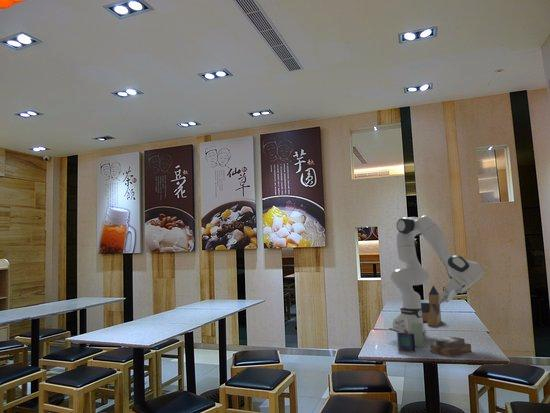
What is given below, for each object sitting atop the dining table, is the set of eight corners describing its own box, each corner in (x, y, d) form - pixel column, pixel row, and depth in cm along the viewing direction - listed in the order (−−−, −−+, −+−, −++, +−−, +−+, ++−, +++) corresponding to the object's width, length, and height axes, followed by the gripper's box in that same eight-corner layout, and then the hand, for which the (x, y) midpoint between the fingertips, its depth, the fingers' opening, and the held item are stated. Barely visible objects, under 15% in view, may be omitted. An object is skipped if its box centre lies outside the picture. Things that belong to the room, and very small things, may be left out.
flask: (397, 349, 212) (395, 328, 213) (399, 348, 214) (398, 327, 215) (414, 352, 206) (412, 330, 207) (416, 351, 208) (415, 329, 209)
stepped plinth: (430, 352, 205) (430, 339, 206) (449, 346, 214) (448, 334, 215) (452, 356, 195) (451, 343, 196) (471, 351, 204) (470, 338, 205)
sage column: (412, 345, 219) (411, 322, 220) (417, 344, 221) (415, 322, 222) (419, 347, 216) (417, 323, 217) (423, 345, 218) (422, 322, 219)
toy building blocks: (441, 320, 285) (438, 284, 288) (437, 325, 269) (435, 287, 271) (422, 319, 291) (420, 284, 294) (418, 324, 275) (415, 287, 277)
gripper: (452, 286, 233) (433, 301, 232) (455, 274, 216) (435, 290, 215) (461, 295, 229) (442, 310, 228) (464, 282, 213) (444, 299, 211)
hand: (439, 300), depth 221 cm, fingers open, 8 cm apart
